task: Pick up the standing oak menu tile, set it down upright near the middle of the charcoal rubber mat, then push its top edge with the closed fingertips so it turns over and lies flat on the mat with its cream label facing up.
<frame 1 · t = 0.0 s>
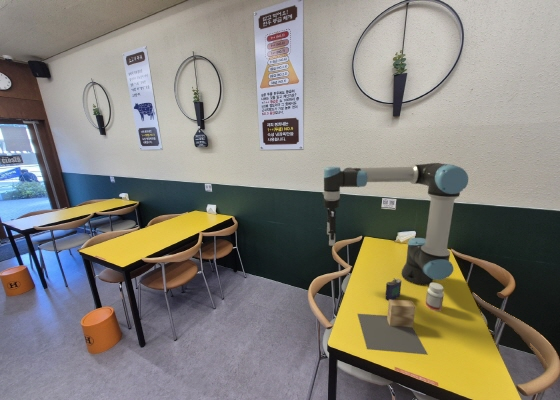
hand: (330, 239, 112), 28 cm above the table, fingers open, 13 cm apart
pill bottle: (433, 307, 102), on the table
oak tile: (399, 323, 93), resting on mat
mat: (388, 332, 90), on the table
flask: (392, 298, 109), on the table
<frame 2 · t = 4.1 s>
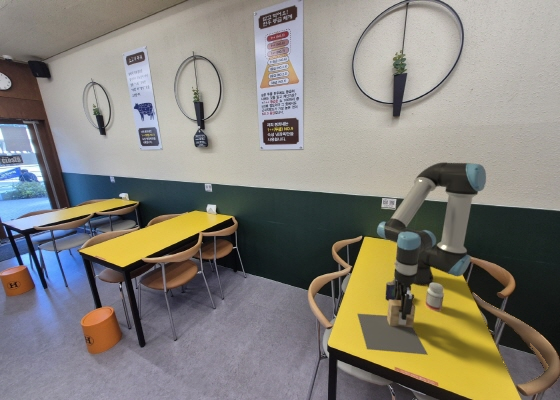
hand: (399, 320, 93), 2 cm above the table, fingers closed on oak tile, 4 cm apart
oak tile: (399, 323, 93), resting on mat, touching gripper
everything else where it was.
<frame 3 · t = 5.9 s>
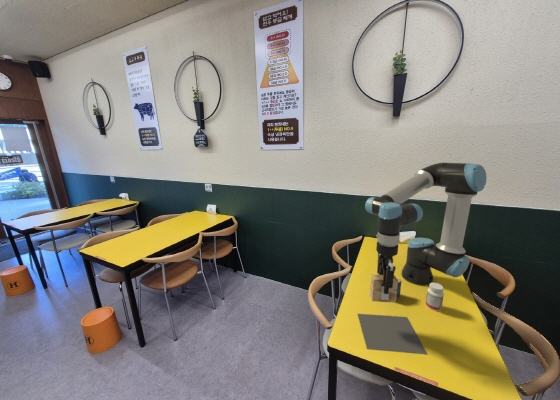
hand: (382, 295, 90), 14 cm above the table, fingers closed on oak tile, 4 cm apart
oak tile: (382, 299, 91), point 13 cm above the table, touching gripper
everything else where it was.
when the fingers open (3 cm above the table, at t = 8.0 s): oak tile stays where it is, resting on mat.
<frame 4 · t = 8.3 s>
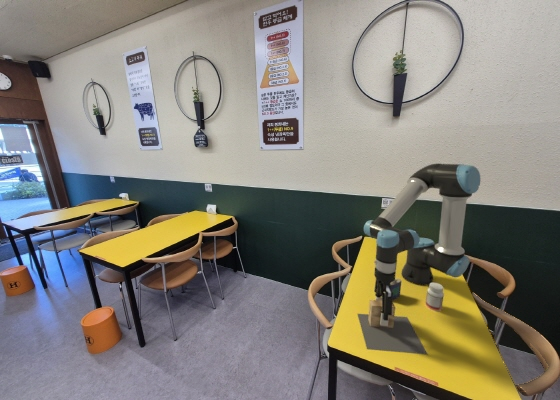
hand: (381, 317, 93), 4 cm above the table, fingers open, 7 cm apart
oak tile: (380, 323, 94), resting on mat
everything else where it was.
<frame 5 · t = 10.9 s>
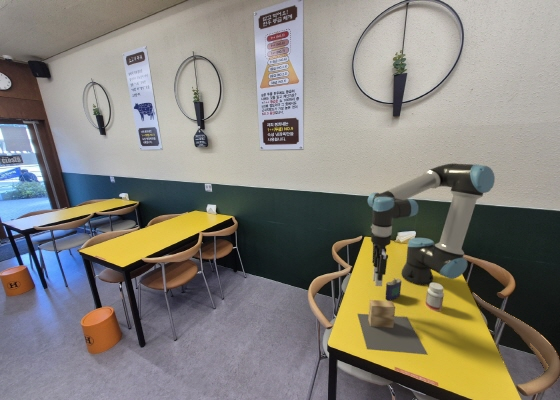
hand: (377, 283, 98), 15 cm above the table, fingers open, 3 cm apart
nothing on the table moved.
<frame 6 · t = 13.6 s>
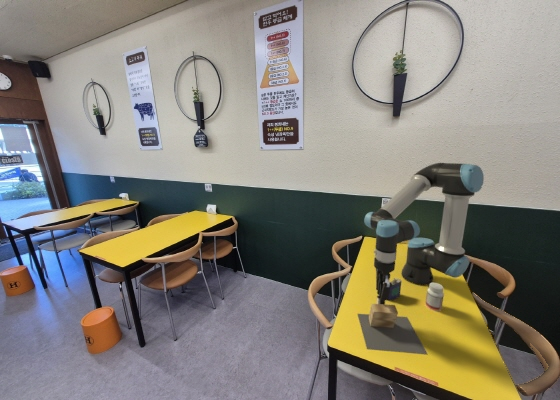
hand: (380, 309, 93), 7 cm above the table, fingers closed
oak tile: (380, 322, 93), point 1 cm above the table, tilted 17°, touching gripper, mat
everything else where it was.
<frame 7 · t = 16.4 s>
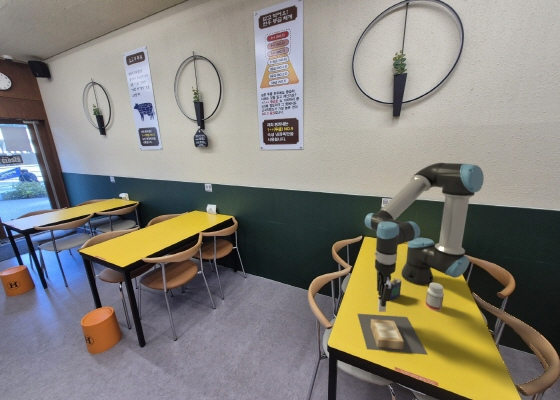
hand: (381, 310, 94), 6 cm above the table, fingers closed
oak tile: (382, 323, 91), point 2 cm above the table, tilted 90°, touching mat
everything else where it was.
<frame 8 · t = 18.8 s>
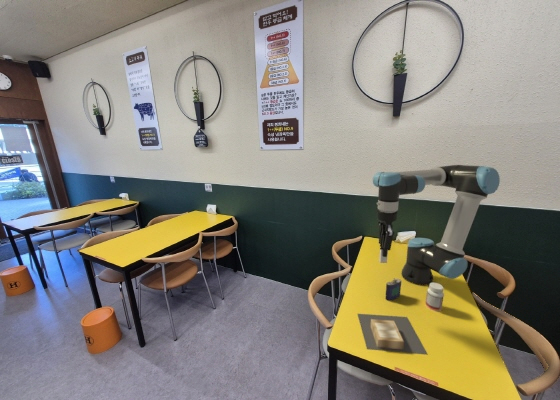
hand: (383, 262, 96), 24 cm above the table, fingers closed
nothing on the table moved.
at the end: oak tile tilted 90°; oak tile inside the target area (3.8 cm from its centre), point 2.1 cm above the table; the gripper is holding nothing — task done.
